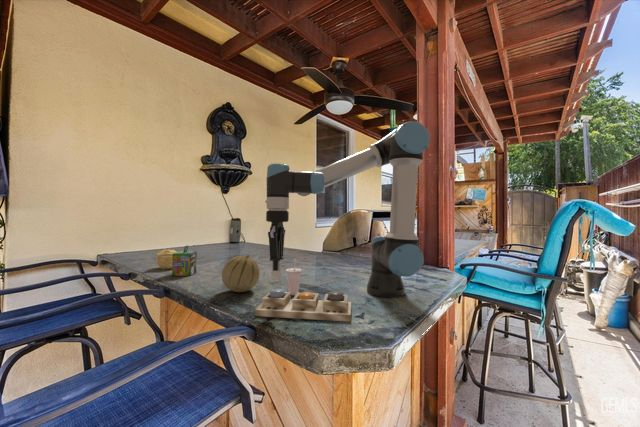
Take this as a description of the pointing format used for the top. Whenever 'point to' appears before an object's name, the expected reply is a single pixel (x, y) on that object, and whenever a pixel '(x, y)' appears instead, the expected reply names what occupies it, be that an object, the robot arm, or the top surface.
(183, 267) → the chalk box
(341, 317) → the button panel
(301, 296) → the orange button
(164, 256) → the sculpture
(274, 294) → the blue button
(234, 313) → the top surface
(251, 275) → the cantaloupe
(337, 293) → the charcoal button
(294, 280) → the smoothie
